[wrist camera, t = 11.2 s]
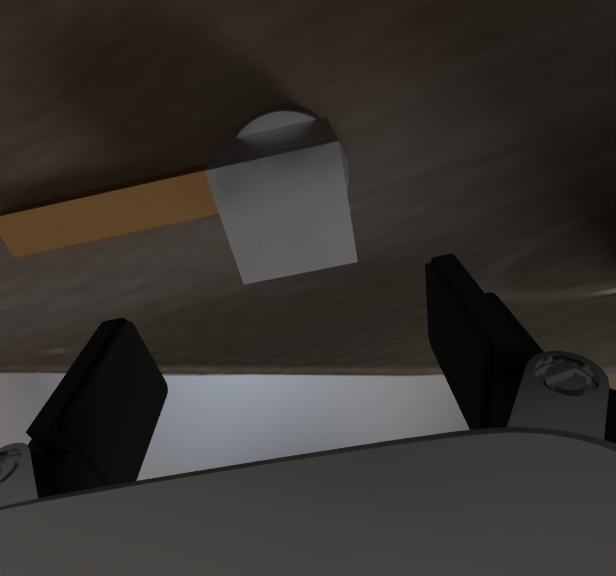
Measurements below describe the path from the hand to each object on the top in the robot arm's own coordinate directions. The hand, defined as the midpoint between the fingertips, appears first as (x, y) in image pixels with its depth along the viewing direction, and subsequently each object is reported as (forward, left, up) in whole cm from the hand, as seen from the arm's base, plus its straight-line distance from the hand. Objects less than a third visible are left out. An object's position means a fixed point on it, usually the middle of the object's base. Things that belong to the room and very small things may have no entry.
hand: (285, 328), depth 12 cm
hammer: (+8, 0, -18) cm, 20 cm away
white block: (0, 0, -16) cm, 16 cm away
